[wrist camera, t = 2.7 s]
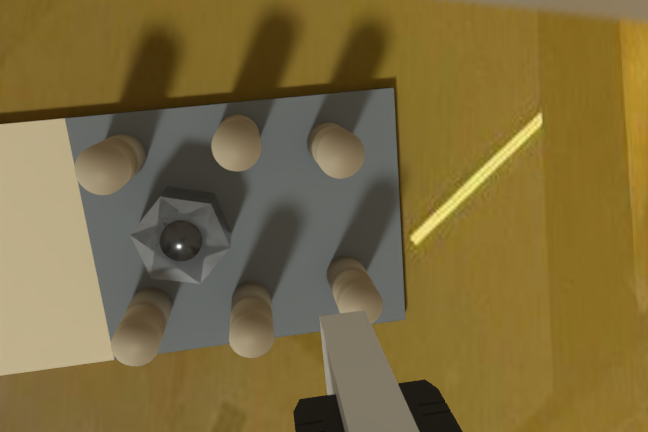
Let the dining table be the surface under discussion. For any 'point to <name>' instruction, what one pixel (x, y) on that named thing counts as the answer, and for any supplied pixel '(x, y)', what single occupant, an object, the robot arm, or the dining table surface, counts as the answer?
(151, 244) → the nut
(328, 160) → the pegs
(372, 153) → the mat
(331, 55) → the dining table surface
